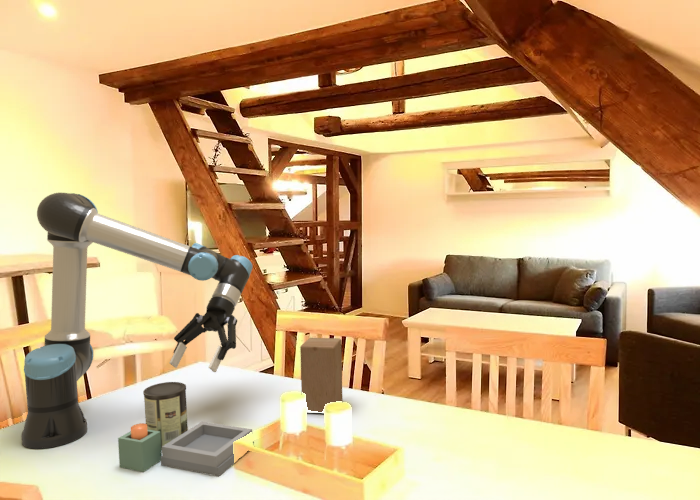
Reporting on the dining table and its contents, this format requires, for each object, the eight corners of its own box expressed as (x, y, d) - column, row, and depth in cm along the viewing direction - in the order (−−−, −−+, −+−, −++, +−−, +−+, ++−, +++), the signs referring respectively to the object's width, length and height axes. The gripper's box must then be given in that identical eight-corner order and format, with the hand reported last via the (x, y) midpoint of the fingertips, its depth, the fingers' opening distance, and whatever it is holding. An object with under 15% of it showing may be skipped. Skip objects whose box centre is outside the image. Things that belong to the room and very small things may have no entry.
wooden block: (335, 415, 148) (333, 347, 147) (301, 413, 150) (299, 345, 149) (342, 402, 158) (341, 338, 156) (311, 401, 160) (309, 337, 158)
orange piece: (128, 449, 121) (127, 428, 121) (139, 442, 124) (138, 422, 124) (140, 451, 120) (139, 430, 119) (151, 444, 123) (150, 424, 123)
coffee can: (170, 430, 141) (168, 379, 140) (197, 438, 135) (194, 385, 134) (137, 445, 132) (134, 391, 131) (164, 454, 127) (161, 398, 126)
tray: (161, 464, 122) (160, 446, 121) (201, 438, 135) (200, 421, 135) (218, 476, 116) (217, 456, 115) (254, 446, 130) (253, 429, 129)
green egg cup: (119, 467, 121) (117, 438, 120) (138, 455, 126) (137, 427, 126) (143, 472, 118) (141, 442, 118) (161, 460, 124) (160, 431, 123)
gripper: (264, 311, 151) (236, 378, 139) (197, 307, 161) (165, 369, 149) (252, 296, 146) (222, 365, 133) (183, 293, 156) (149, 357, 144)
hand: (192, 367), depth 141 cm, fingers open, 13 cm apart
